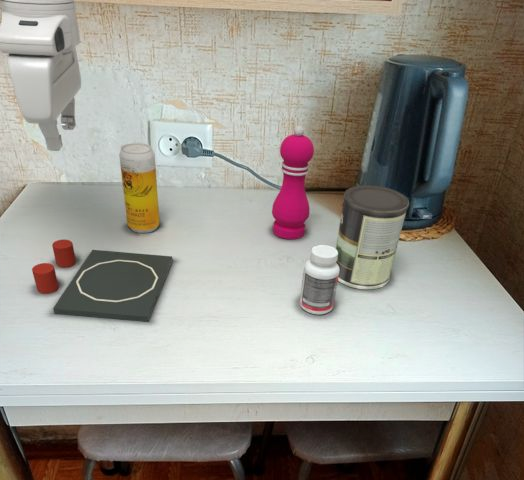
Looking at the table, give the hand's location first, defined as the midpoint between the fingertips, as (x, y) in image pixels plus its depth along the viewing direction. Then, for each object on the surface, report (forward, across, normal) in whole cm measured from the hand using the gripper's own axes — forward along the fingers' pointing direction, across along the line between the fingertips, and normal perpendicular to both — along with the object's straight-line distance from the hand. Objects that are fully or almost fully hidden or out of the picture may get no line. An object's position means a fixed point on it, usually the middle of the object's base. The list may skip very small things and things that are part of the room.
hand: (62, 138), depth 74 cm
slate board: (+20, +8, +6) cm, 23 cm away
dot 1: (+20, +8, -4) cm, 22 cm away
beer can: (+21, -13, +9) cm, 26 cm away
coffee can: (+21, +4, +48) cm, 52 cm away
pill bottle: (+21, +13, +38) cm, 45 cm away
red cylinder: (+20, 0, -3) cm, 21 cm away
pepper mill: (+21, -12, +37) cm, 44 cm away
